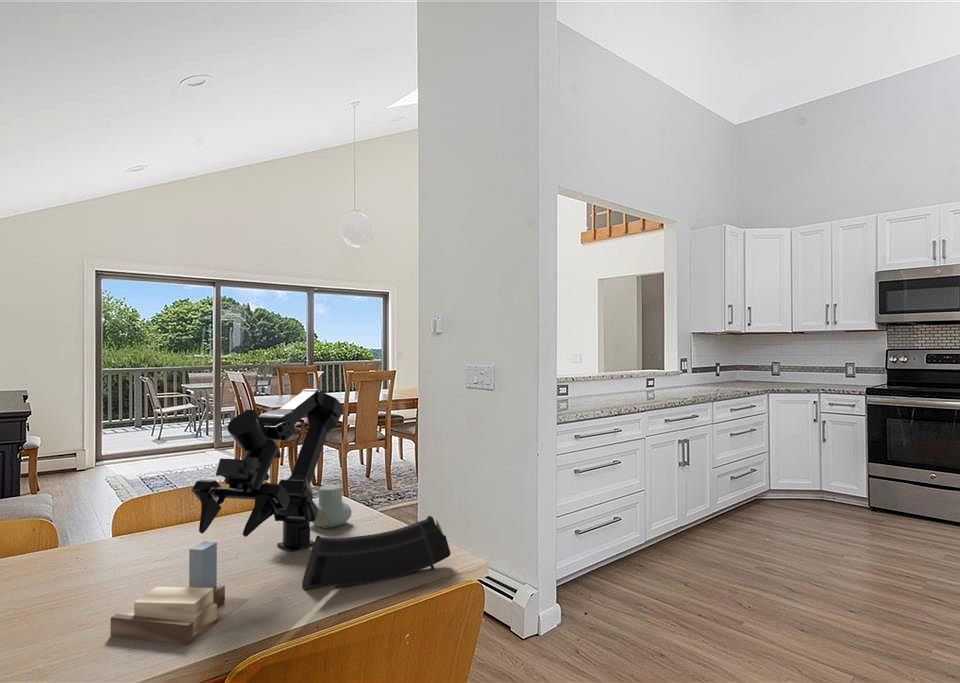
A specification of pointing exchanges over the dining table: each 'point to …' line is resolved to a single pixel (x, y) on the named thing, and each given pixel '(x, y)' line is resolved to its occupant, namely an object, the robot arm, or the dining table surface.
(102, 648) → the dining table surface
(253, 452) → the robot arm
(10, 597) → the dining table surface
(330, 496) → the air freshener
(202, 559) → the tall board
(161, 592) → the offcut stack
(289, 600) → the dining table surface
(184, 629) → the walnut rack
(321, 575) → the magazine
